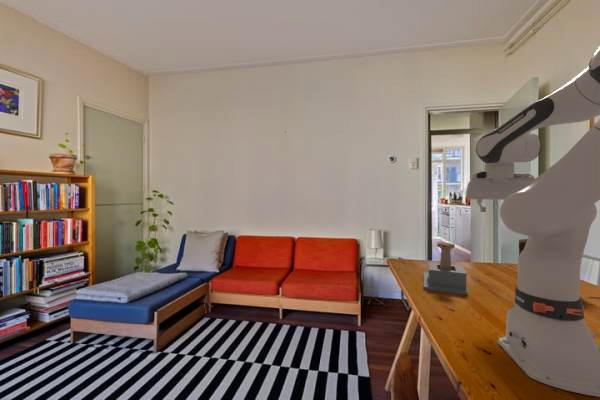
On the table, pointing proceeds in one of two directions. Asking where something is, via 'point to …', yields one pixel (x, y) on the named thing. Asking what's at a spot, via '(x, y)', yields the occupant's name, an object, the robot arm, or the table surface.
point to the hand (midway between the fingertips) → (498, 212)
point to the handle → (445, 255)
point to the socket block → (446, 279)
